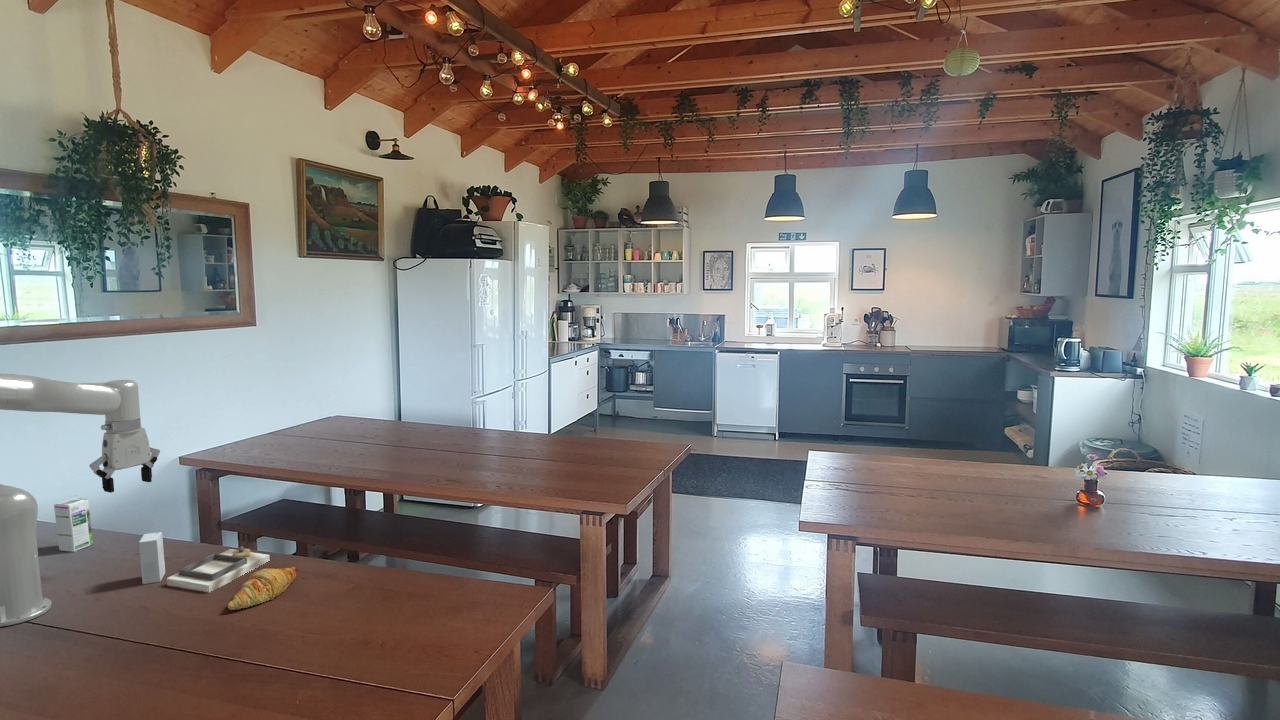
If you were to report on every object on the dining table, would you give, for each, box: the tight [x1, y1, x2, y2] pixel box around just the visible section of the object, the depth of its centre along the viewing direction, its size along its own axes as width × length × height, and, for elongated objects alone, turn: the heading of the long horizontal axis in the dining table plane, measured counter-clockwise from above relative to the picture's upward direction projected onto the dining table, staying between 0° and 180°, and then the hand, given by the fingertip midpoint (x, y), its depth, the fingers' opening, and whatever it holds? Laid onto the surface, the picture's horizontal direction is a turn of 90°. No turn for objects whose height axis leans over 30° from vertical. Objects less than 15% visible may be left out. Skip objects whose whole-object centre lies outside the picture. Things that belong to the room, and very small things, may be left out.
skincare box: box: [138, 531, 166, 585], centre depth 181 cm, size 6×4×12 cm
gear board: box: [166, 545, 271, 593], centre depth 185 cm, size 20×14×5 cm
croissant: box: [227, 566, 299, 611], centre depth 174 cm, size 21×10×8 cm, turn 164°
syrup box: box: [53, 497, 94, 553], centre depth 200 cm, size 6×6×14 cm
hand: (128, 486), depth 183 cm, fingers open, 9 cm apart
